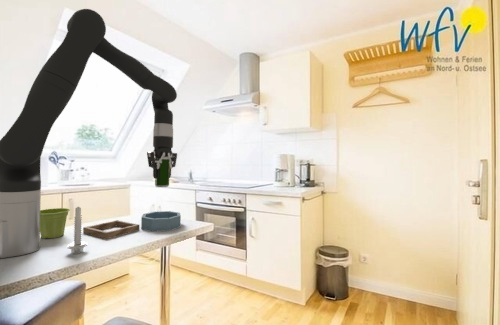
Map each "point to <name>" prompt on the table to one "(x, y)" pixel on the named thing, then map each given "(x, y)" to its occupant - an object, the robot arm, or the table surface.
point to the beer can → (163, 173)
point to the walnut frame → (97, 231)
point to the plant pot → (53, 222)
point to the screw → (77, 234)
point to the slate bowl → (160, 221)
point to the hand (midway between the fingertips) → (162, 177)
